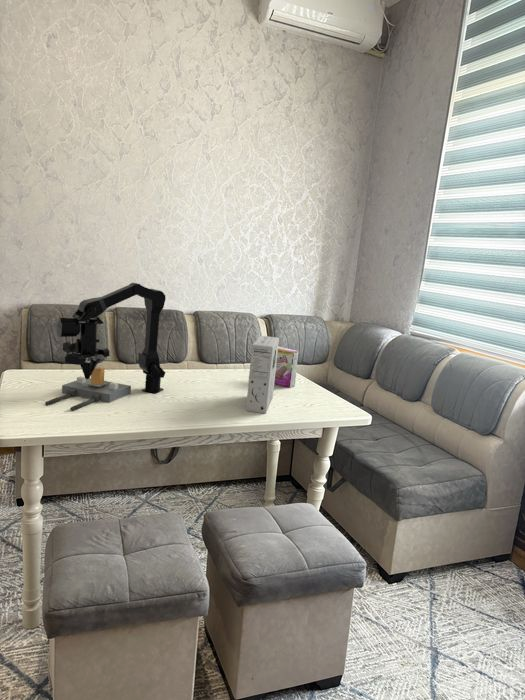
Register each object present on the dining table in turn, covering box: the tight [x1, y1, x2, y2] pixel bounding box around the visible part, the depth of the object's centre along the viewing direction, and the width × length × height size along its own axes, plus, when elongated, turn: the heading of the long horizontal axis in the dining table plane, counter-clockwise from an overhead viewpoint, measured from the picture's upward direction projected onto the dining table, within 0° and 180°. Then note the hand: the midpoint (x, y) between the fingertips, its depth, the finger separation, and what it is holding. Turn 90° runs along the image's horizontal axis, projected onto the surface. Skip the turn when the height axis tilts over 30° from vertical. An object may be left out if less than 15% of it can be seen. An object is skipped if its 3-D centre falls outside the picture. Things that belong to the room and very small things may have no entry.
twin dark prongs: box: [44, 393, 96, 412], centre depth 176 cm, size 15×11×1 cm
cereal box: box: [245, 335, 280, 414], centre depth 194 cm, size 22×8×25 cm, turn 172°
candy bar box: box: [274, 346, 300, 388], centre depth 227 cm, size 11×5×16 cm, turn 58°
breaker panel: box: [61, 375, 132, 404], centre depth 188 cm, size 16×20×5 cm
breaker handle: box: [87, 366, 107, 387], centre depth 188 cm, size 5×5×6 cm
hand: (87, 378), depth 182 cm, fingers closed
